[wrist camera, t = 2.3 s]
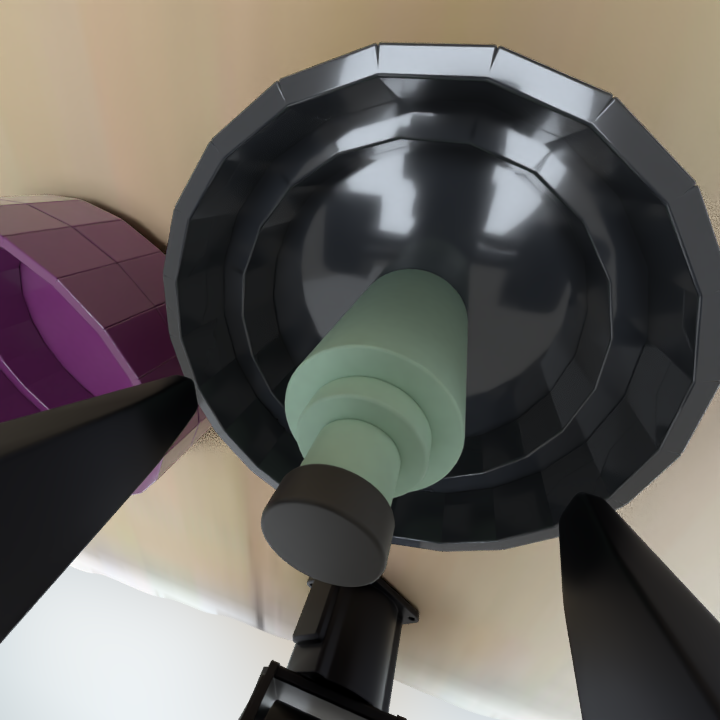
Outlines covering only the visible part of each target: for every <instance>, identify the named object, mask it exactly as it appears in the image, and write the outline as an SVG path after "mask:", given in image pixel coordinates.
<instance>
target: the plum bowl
mask: <svg viewBox="0 0 720 720" xmlns="http://www.w3.org/2000/svg"><path fill="white" fill-rule="evenodd" d="M165 256H166V255H165V254H164V253H163V252H161V250H160V249H158V248H157V247H156V246H155V245H154V244H152V243H151V242H150V241H149V240H147V239H146V238H145V237H144V236H143V235H141V234H140V233H139V232H138V231H136V230H135V229H134V228H133V227H132V226H130V225H129V224H128V223H127V222H125V221H124V220H122V219H121V218H119V217H117V216H115V215H113V214H111V213H109V212H107V211H105V210H103V209H101V208H99V207H97V206H95V205H93V204H91V203H89V202H87V201H85V200H82V199H77V198H70V197H64V196H57V195H50V194H40V195H22V196H4V197H0V423H1V422H5V421H9V420H12V419H16V418H20V417H23V416H27V415H30V414H34V413H38V412H41V411H45V410H49V409H52V408H56V407H60V406H63V405H67V404H70V403H74V402H78V401H81V400H85V399H89V398H92V397H96V396H100V395H103V394H107V393H110V392H114V391H118V390H121V389H125V388H129V387H132V386H136V385H139V384H143V383H147V382H150V381H154V380H158V379H161V378H165V377H169V376H172V375H181V376H184V375H183V372H182V370H181V367H180V364H179V361H178V359H177V356H176V353H175V350H174V348H173V345H172V342H171V339H170V337H169V335H170V334H169V332H168V322H167V313H166V303H165V294H164V285H163V268H164V262H165ZM211 427H212V425H211V424H210V422H209V421H208V419H207V417H206V416H205V414H204V413H203V411H202V409H201V408H200V406H199V405H198V407H197V411H196V413H195V414H194V416H193V417H192V419H191V420H190V421H189V423H188V424H187V425H186V427H185V428H184V430H183V431H182V432H181V434H180V435H179V436H178V438H177V439H176V441H175V442H174V443H173V445H172V446H171V447H170V449H169V450H168V452H167V453H166V454H165V456H164V457H163V458H162V460H161V461H160V462H159V463H158V465H157V466H156V467H155V468H154V469H153V471H152V472H151V473H150V474H149V475H148V476H147V477H146V479H145V480H144V481H143V482H142V483H141V484H140V485H139V487H138V488H137V489H136V490H135V491H134V492H133V493H132V494H131V495H134V494H140V493H142V492H144V491H145V490H146V489H147V488H148V487H150V486H151V485H152V484H153V483H154V482H155V481H156V480H158V479H159V478H160V477H161V476H162V475H163V474H164V473H165V472H166V471H167V470H168V469H169V468H170V467H171V466H172V465H173V464H174V463H175V462H176V461H177V460H178V459H179V458H180V457H181V456H182V455H183V454H184V453H185V452H186V451H187V450H188V449H189V448H190V447H191V446H192V445H193V444H194V443H195V442H196V441H197V440H198V439H199V438H200V437H201V436H202V435H203V434H204V433H205V432H206V431H207V430H208V429H209V428H211Z"/></svg>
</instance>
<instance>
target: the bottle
mask: <svg viewBox="0 0 720 720" xmlns="http://www.w3.org/2000/svg"><path fill="white" fill-rule="evenodd" d="M467 344H468V316H467V311H466V308H465V305H464V302H463V300H462V298H461V297H460V295H459V294H458V292H457V291H456V290H455V289H454V288H453V287H452V285H451V284H449V283H448V282H447V281H446V280H444V279H443V278H441V277H439V276H437V275H435V274H433V273H431V272H427V271H424V270H418V269H403V270H397V271H393V272H390V273H388V274H385V275H384V276H382V277H380V278H379V279H377V280H376V281H375V282H373V283H372V284H371V285H370V286H369V287H368V289H367V290H366V291H365V292H364V293H363V294H362V295H361V296H360V298H359V299H358V300H357V301H356V302H355V303H354V304H353V306H352V307H351V308H350V309H349V310H348V311H347V312H346V313H345V315H344V316H343V317H342V318H341V319H340V320H339V321H338V322H337V324H336V325H335V326H334V327H333V328H332V329H331V330H330V331H329V333H328V334H327V335H326V336H325V337H324V338H323V339H322V340H321V342H320V343H319V344H318V345H317V346H316V347H315V348H314V349H313V351H312V352H311V353H310V354H309V355H308V356H307V357H306V358H305V360H304V361H303V362H302V363H301V364H300V365H299V366H298V368H297V369H296V370H295V372H294V373H293V375H292V376H291V379H290V381H289V383H288V386H287V390H286V395H285V413H286V418H287V422H288V425H289V427H290V430H291V432H292V434H293V436H294V438H295V440H296V441H297V443H298V446H299V449H300V451H301V453H302V456H303V457H304V460H303V461H302V463H301V465H300V466H299V467H297V468H295V469H293V470H291V471H290V472H289V473H287V474H286V475H285V476H284V478H283V479H282V481H281V483H280V484H279V486H278V488H277V489H276V491H275V492H274V494H273V496H272V497H271V499H270V501H269V502H268V504H267V505H266V507H265V509H264V510H263V513H262V518H261V528H262V532H263V534H264V537H265V539H266V540H267V542H268V544H269V545H270V546H271V548H272V549H273V550H274V551H275V552H276V553H277V554H278V555H279V556H280V557H281V558H282V559H283V560H284V561H285V562H287V563H288V564H289V565H291V566H292V567H294V568H295V569H297V570H298V571H300V572H302V573H304V574H306V575H308V576H310V577H312V578H314V579H317V580H319V581H322V582H325V583H329V584H333V585H337V586H344V587H359V586H365V585H368V584H371V583H373V582H375V581H376V580H377V579H379V577H380V576H381V575H382V574H383V572H384V570H385V568H386V565H387V560H388V555H389V551H390V546H391V542H392V537H393V532H394V528H395V521H394V516H393V512H392V509H391V504H392V500H393V498H395V497H398V496H402V495H404V494H406V493H408V492H412V491H417V490H420V489H423V488H426V487H428V486H430V485H433V484H435V483H436V482H438V481H439V480H441V479H442V478H443V477H445V476H446V475H447V474H448V473H449V472H450V471H451V469H452V468H453V467H454V466H455V464H456V463H457V461H458V459H459V457H460V455H461V453H462V449H463V446H464V439H465V414H466V379H467Z"/></svg>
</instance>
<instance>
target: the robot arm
mask: <svg viewBox="0 0 720 720" xmlns="http://www.w3.org/2000/svg"><path fill="white" fill-rule="evenodd" d="M197 407H198V401H197V396H196V390H195V385H194V382H193V380H192V379H190V378H188V377H184V376H181V375H172V376H169V377H165V378H161V379H158V380H154V381H150V382H147V383H143V384H139V385H136V386H132V387H129V388H125V389H121V390H118V391H114V392H110V393H107V394H103V395H100V396H96V397H92V398H89V399H85V400H81V401H78V402H74V403H70V404H67V405H63V406H60V407H56V408H52V409H49V410H45V411H41V412H38V413H34V414H30V415H27V416H23V417H20V418H16V419H12V420H9V421H5V422H1V423H0V643H1V642H2V641H3V640H4V639H5V638H6V637H7V636H8V634H9V633H10V632H11V631H12V630H13V629H14V628H15V626H16V625H17V624H18V623H19V622H20V621H21V620H22V618H23V617H24V616H25V615H26V614H27V613H28V612H29V610H30V609H31V608H32V607H33V606H34V605H35V604H36V603H37V601H38V600H39V599H40V598H41V597H42V596H43V595H44V593H45V592H46V591H47V590H48V589H49V588H50V587H51V585H52V584H53V583H54V582H55V581H56V580H57V579H58V577H59V576H60V575H61V574H62V573H63V572H64V571H65V570H66V568H67V567H68V566H69V565H70V564H71V563H72V562H73V560H74V559H75V558H76V557H77V556H78V555H79V554H80V552H81V551H82V550H83V549H84V548H85V547H86V546H87V545H88V543H89V542H90V541H91V540H92V539H93V538H94V537H95V535H96V534H97V533H98V532H99V531H100V530H101V529H102V527H103V526H104V525H105V524H106V523H107V522H108V521H109V520H110V518H111V517H112V516H113V515H114V514H115V513H116V512H117V510H118V509H119V508H120V507H121V506H122V505H123V504H124V502H125V501H126V500H127V499H128V498H129V497H130V496H131V494H132V493H133V492H134V491H135V490H136V489H137V488H138V487H139V485H140V484H141V483H142V482H143V481H144V480H145V479H146V477H147V476H148V475H149V474H150V473H151V472H152V471H153V469H154V468H155V467H156V466H157V465H158V463H159V462H160V461H161V460H162V458H163V457H164V456H165V454H166V453H167V452H168V450H169V449H170V447H171V446H172V445H173V443H174V442H175V441H176V439H177V438H178V436H179V435H180V434H181V432H182V431H183V430H184V428H185V427H186V425H187V424H188V423H189V421H190V420H191V419H192V417H193V416H194V414H195V413H196V411H197ZM559 541H560V558H561V575H562V592H563V603H564V611H565V618H566V624H567V630H568V636H569V642H570V648H571V654H572V660H573V666H574V672H575V678H576V684H577V690H578V696H579V702H580V708H581V714H582V720H720V623H719V622H718V620H717V619H716V618H715V617H714V616H713V615H712V614H711V613H710V612H709V611H708V610H707V609H706V608H705V607H704V605H703V604H702V603H701V602H700V601H699V600H698V599H697V598H696V597H695V596H694V595H693V594H692V593H691V592H690V590H689V589H688V588H687V587H686V586H685V585H684V584H683V583H682V582H681V581H680V580H679V579H678V578H677V577H676V575H675V574H674V573H673V572H672V571H671V570H670V569H669V568H668V567H667V566H666V565H665V564H664V563H663V562H662V560H661V559H660V558H659V557H658V556H657V555H656V554H655V553H654V552H653V551H652V550H651V549H650V548H649V547H648V545H647V544H646V543H645V542H644V541H643V540H642V539H641V538H640V537H639V536H638V535H637V534H636V533H635V532H634V530H633V529H632V528H631V527H630V526H629V525H628V524H627V523H626V522H625V521H624V520H623V519H622V518H621V517H620V515H619V514H618V513H617V512H616V511H615V510H614V509H613V508H612V507H611V506H610V505H609V504H608V503H607V502H606V501H605V500H604V499H603V498H601V497H598V496H595V495H591V494H588V493H585V492H579V493H577V494H576V495H575V496H574V497H573V499H572V500H571V502H570V503H569V505H568V506H567V507H566V509H565V510H564V512H563V513H562V515H561V517H560V520H559ZM307 585H308V586H309V587H310V588H311V590H310V592H309V595H308V597H307V600H306V603H305V605H304V608H303V610H302V613H301V616H300V618H299V621H298V623H297V626H296V629H295V631H294V634H293V642H295V643H296V644H295V647H294V650H293V652H292V655H291V658H290V660H289V663H288V666H287V668H285V667H282V666H280V663H278V662H276V661H273V660H272V661H271V663H270V665H269V667H264V668H263V670H262V672H261V675H260V677H259V679H258V682H257V684H256V687H255V689H254V691H253V694H252V696H251V698H250V700H249V702H248V704H247V706H246V707H245V709H244V711H243V713H242V714H241V716H240V718H239V720H407V719H406V718H404V717H401V716H399V715H397V717H396V716H394V715H392V714H389V713H388V712H389V705H390V698H391V692H392V686H393V679H394V673H395V667H396V660H397V654H398V647H399V641H400V634H401V628H402V624H409V623H416V622H418V621H419V613H418V611H416V610H415V609H414V608H413V607H412V606H411V605H410V604H409V603H408V602H407V601H406V600H404V599H403V598H402V597H401V596H400V595H399V594H398V593H397V592H396V591H395V590H393V589H392V588H391V587H390V586H389V585H388V584H387V583H386V582H385V581H384V580H382V579H381V578H380V577H379V579H377V580H376V581H375V582H373V583H371V584H368V585H365V586H359V587H344V586H337V585H333V584H329V583H325V582H322V581H319V580H317V579H314V578H312V577H309V579H308V581H307Z"/></svg>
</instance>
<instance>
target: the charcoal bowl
mask: <svg viewBox="0 0 720 720" xmlns="http://www.w3.org/2000/svg"><path fill="white" fill-rule="evenodd" d="M403 269H418V270H424V271H427V272H431V273H433V274H435V275H437V276H439V277H441V278H443V279H444V280H446V281H447V282H448V283H449V284H451V285H452V287H453V288H454V289H455V290H456V291H457V292H458V294H459V295H460V297H461V298H462V300H463V302H464V305H465V308H466V311H467V316H468V344H467V379H466V414H465V439H464V446H463V449H462V453H461V455H460V457H459V459H458V461H457V463H456V464H455V466H454V467H453V468H452V469H451V471H450V472H449V473H448V474H447V475H446V476H445V477H443V478H442V479H441V480H439V481H438V482H436V483H435V484H433V485H430V486H428V487H426V488H423V489H420V490H417V491H412V492H408V493H406V494H404V495H402V496H398V497H395V498H393V500H392V504H391V509H392V512H393V516H394V521H395V528H394V532H393V537H392V542H391V544H396V545H403V546H409V547H416V548H422V549H429V550H435V551H442V552H443V551H445V552H450V551H485V550H502V549H503V550H505V549H509V548H514V547H518V546H522V545H527V544H531V543H535V542H539V541H544V540H548V539H552V538H557V537H559V520H560V517H561V515H562V513H563V512H564V510H565V509H566V507H567V506H568V505H569V503H570V502H571V500H572V499H573V497H574V496H575V495H576V494H577V493H579V492H585V493H588V494H591V495H595V496H598V497H601V498H603V499H604V500H605V501H606V502H607V503H608V504H609V505H610V506H611V507H612V508H613V509H614V510H617V509H619V508H621V507H623V506H625V505H627V504H628V503H629V502H630V501H631V500H633V499H634V498H635V497H636V496H637V495H638V494H639V493H640V492H641V491H643V490H644V489H645V488H646V487H647V486H648V485H649V484H650V483H651V482H652V481H654V480H655V479H656V478H657V477H658V476H659V475H660V474H661V473H662V472H664V471H665V470H666V469H667V468H668V467H669V466H670V465H671V464H672V463H673V462H675V461H676V460H677V459H678V458H679V457H680V456H681V454H682V453H683V452H684V450H685V448H686V446H687V444H688V443H689V441H690V439H691V437H692V435H693V433H694V432H695V430H696V428H697V426H698V424H699V422H700V421H701V419H702V417H703V415H704V413H705V412H706V410H707V408H708V406H709V404H710V402H711V401H712V399H713V397H714V395H715V393H716V391H717V390H718V388H719V386H720V248H719V245H718V242H717V239H716V236H715V233H714V230H713V227H712V224H711V221H710V218H709V215H708V212H707V209H706V206H705V203H704V200H703V197H702V194H701V191H700V188H699V186H698V185H696V181H695V180H694V179H693V178H692V177H691V175H690V174H689V173H688V172H687V171H686V170H685V169H684V168H683V167H682V166H681V165H680V164H679V163H678V162H677V160H676V159H675V158H674V157H673V156H672V155H671V154H670V153H669V152H668V151H667V150H666V149H665V148H664V147H663V146H662V144H661V143H660V142H659V141H658V140H657V139H656V138H655V137H654V136H653V135H652V134H651V133H650V132H649V131H648V129H647V128H646V127H645V126H644V125H643V124H642V123H641V122H640V121H639V120H638V119H637V118H636V117H635V116H634V115H633V113H632V112H631V111H630V110H629V109H628V108H627V107H626V106H625V105H624V104H623V103H622V102H621V101H620V100H619V98H618V97H613V95H612V93H610V92H608V91H605V90H603V89H601V88H598V87H596V86H594V85H592V84H589V83H587V82H585V81H582V80H580V79H578V78H575V77H573V76H571V75H569V74H566V73H564V72H562V71H559V70H557V69H555V68H552V67H550V66H548V65H545V64H543V63H541V62H539V61H536V60H534V59H532V58H529V57H527V56H525V55H522V54H520V53H518V52H516V51H513V50H511V49H509V48H506V47H504V46H498V48H497V45H495V44H465V43H415V42H380V43H379V44H377V43H373V44H371V45H368V46H365V47H363V48H360V49H357V50H355V51H352V52H349V53H347V54H344V55H341V56H339V57H336V58H333V59H331V60H328V61H325V62H323V63H320V64H317V65H315V66H312V67H309V68H307V69H304V70H301V71H299V72H296V73H293V74H291V75H288V76H285V77H283V78H281V79H279V81H276V82H275V83H274V84H272V85H271V86H270V87H269V88H268V89H267V90H266V91H265V92H263V93H262V94H261V95H260V96H259V97H258V98H257V99H256V100H255V101H253V102H252V103H251V104H250V105H249V106H248V107H247V108H246V109H244V110H243V111H242V112H241V113H240V114H239V115H238V116H237V117H236V118H234V119H233V120H232V121H231V122H230V123H229V124H228V125H227V126H225V127H224V128H223V129H222V130H221V131H220V132H219V133H218V134H216V135H215V136H214V137H213V138H212V141H210V142H209V143H208V145H207V147H206V149H205V151H204V153H203V155H202V156H201V158H200V160H199V162H198V164H197V166H196V168H195V170H194V171H193V173H192V175H191V177H190V179H189V181H188V183H187V185H186V186H185V188H184V190H183V192H182V194H181V196H180V198H179V200H178V201H177V203H176V205H175V209H174V210H173V216H172V222H171V228H170V233H169V239H168V245H167V251H166V256H165V262H164V268H163V285H164V294H165V303H166V313H167V322H168V332H169V334H170V335H169V337H170V339H171V342H172V345H173V348H174V350H175V353H176V356H177V359H178V361H179V364H180V367H181V370H182V372H183V375H184V377H188V378H190V379H192V380H193V382H194V385H195V390H196V396H197V401H198V405H199V406H200V408H201V409H202V411H203V413H204V414H205V416H206V417H207V419H208V421H209V422H210V424H211V425H212V427H213V429H214V430H215V432H216V433H217V434H218V436H219V437H220V438H221V439H222V440H223V441H224V442H225V443H226V444H227V445H228V446H229V447H230V448H231V450H232V451H233V452H234V453H235V454H236V455H237V456H238V457H239V458H240V459H241V460H242V461H243V463H244V464H245V465H246V466H247V467H248V468H249V469H250V470H251V471H252V472H253V473H255V474H256V475H257V476H259V477H260V478H261V479H262V480H264V481H265V482H266V483H268V484H269V485H270V486H272V487H273V488H274V489H277V488H278V486H279V484H280V483H281V481H282V479H283V478H284V476H285V475H286V474H287V473H289V472H290V471H291V470H293V469H295V468H297V467H299V466H300V465H301V463H302V461H303V460H304V457H303V456H302V453H301V451H300V449H299V446H298V443H297V441H296V440H295V438H294V436H293V434H292V432H291V430H290V427H289V425H288V422H287V418H286V413H285V395H286V390H287V386H288V383H289V381H290V379H291V376H292V375H293V373H294V372H295V370H296V369H297V368H298V366H299V365H300V364H301V363H302V362H303V361H304V360H305V358H306V357H307V356H308V355H309V354H310V353H311V352H312V351H313V349H314V348H315V347H316V346H317V345H318V344H319V343H320V342H321V340H322V339H323V338H324V337H325V336H326V335H327V334H328V333H329V331H330V330H331V329H332V328H333V327H334V326H335V325H336V324H337V322H338V321H339V320H340V319H341V318H342V317H343V316H344V315H345V313H346V312H347V311H348V310H349V309H350V308H351V307H352V306H353V304H354V303H355V302H356V301H357V300H358V299H359V298H360V296H361V295H362V294H363V293H364V292H365V291H366V290H367V289H368V287H369V286H370V285H371V284H372V283H373V282H375V281H376V280H377V279H379V278H380V277H382V276H384V275H385V274H388V273H390V272H393V271H397V270H403Z"/></svg>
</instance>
